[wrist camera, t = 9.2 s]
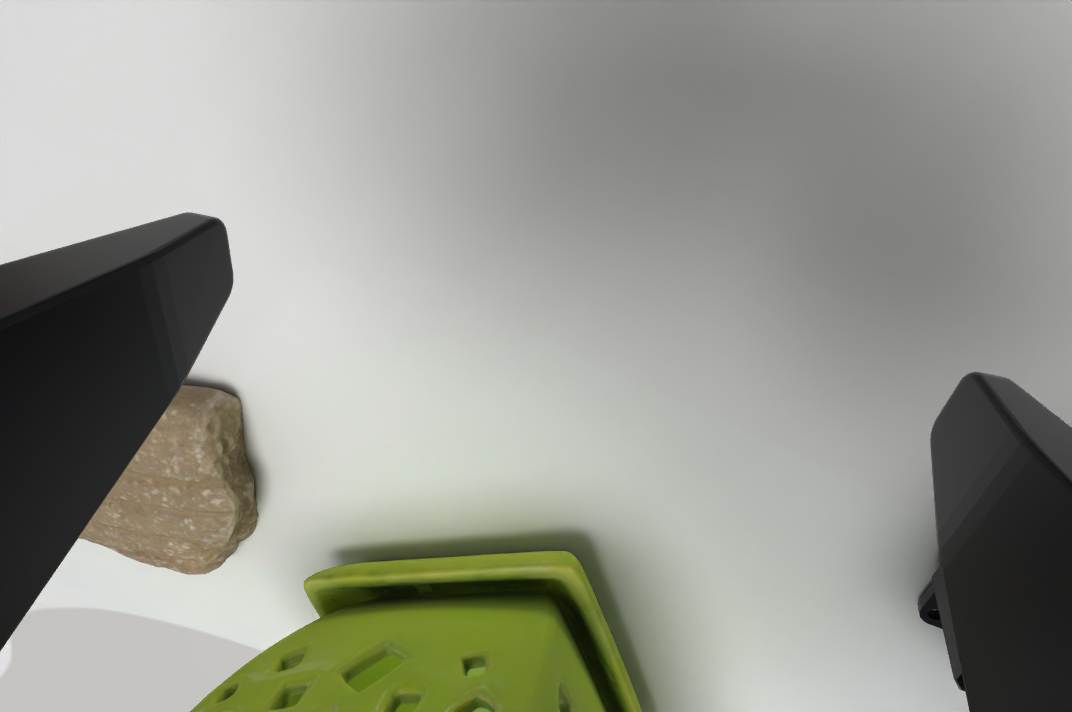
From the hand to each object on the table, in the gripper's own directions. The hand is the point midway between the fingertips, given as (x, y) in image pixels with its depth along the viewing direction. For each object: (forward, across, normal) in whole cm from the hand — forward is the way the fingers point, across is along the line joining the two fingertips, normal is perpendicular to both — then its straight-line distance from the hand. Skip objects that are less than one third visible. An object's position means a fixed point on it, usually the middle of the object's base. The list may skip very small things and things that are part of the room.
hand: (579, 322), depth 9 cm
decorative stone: (+13, +19, +20) cm, 31 cm away
